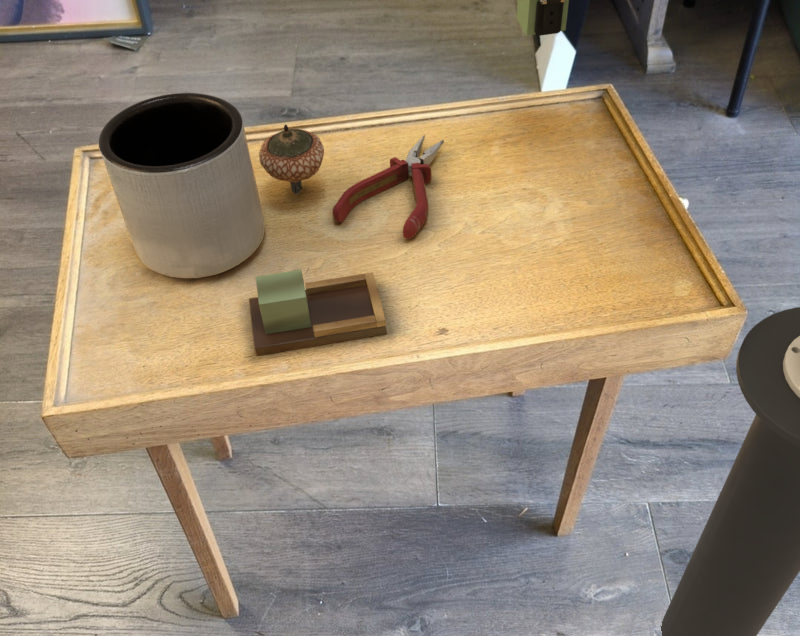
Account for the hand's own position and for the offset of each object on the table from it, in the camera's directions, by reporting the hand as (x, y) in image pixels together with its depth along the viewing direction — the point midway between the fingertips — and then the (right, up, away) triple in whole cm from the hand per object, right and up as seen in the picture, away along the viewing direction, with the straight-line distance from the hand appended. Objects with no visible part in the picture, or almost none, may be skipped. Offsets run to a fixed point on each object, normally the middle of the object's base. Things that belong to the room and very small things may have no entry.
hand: (541, 22), depth 104 cm
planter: (-42, -28, -1) cm, 50 cm away
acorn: (-31, -20, +5) cm, 37 cm away
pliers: (-16, -21, +3) cm, 27 cm away
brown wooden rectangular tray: (-27, -38, -11) cm, 48 cm away
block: (0, 0, 0) cm, 0 cm away
